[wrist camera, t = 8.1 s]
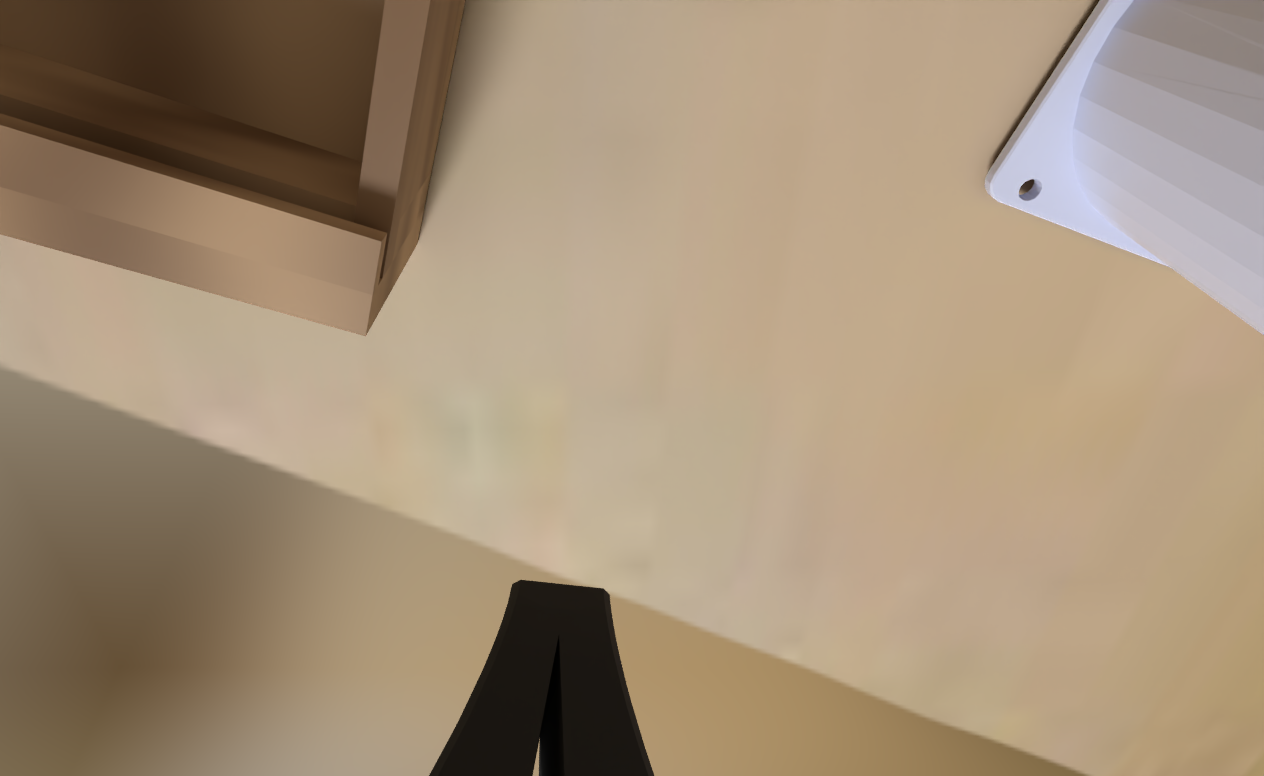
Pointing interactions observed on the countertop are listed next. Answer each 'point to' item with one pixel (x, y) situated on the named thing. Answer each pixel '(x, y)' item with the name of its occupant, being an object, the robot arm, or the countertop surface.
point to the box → (228, 141)
